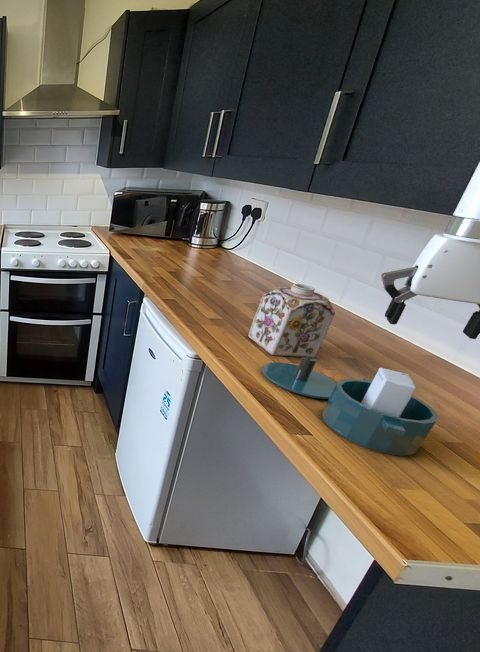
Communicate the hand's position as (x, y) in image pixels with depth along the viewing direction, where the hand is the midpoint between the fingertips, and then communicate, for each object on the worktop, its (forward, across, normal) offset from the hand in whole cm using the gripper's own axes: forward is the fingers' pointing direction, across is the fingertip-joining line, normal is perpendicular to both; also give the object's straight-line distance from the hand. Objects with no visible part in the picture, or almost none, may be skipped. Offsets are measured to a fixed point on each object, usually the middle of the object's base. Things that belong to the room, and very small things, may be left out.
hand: (428, 328), depth 70 cm
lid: (+22, +11, -14) cm, 28 cm away
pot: (+22, +1, 0) cm, 22 cm away
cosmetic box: (+22, +1, 0) cm, 22 cm away
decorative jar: (+23, +14, -34) cm, 43 cm away
